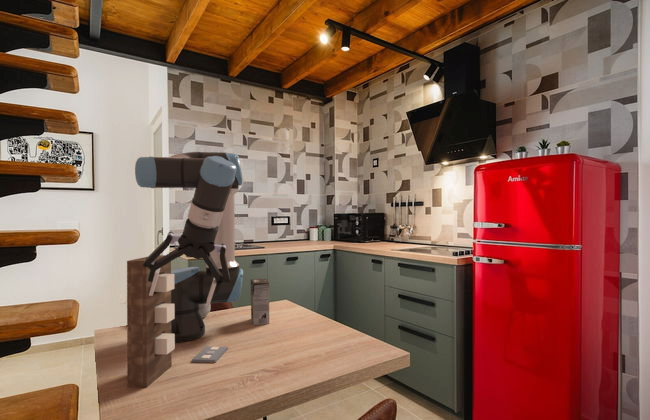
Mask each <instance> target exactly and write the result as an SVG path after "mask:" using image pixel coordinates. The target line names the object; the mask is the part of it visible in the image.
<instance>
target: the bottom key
mask: <svg viewBox="0 0 650 420" xmlns="http://www.w3.org/2000/svg"><path fill="white" fill-rule="evenodd" d="M175 343H176V342H175V334H168V333H161V334H159V335H158V336H156V337H155V354H168V353H170V352H171V353H172V351H174V350H175V349H176V348H175V347H176V344H175Z"/></svg>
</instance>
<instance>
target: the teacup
mask: <svg viewBox="0 0 650 420" xmlns="http://www.w3.org/2000/svg"><path fill="white" fill-rule="evenodd" d="M211 304H212V303H210V305H209V306H208V305H206V304H200V313H201V316H202V319H203V318H206V317H207V316H208V314H210V312H211V309H212V308H211V306H212V305H211Z"/></svg>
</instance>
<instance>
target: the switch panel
mask: <svg viewBox="0 0 650 420" xmlns="http://www.w3.org/2000/svg"><path fill="white" fill-rule="evenodd" d="M165 255H166V254H165ZM165 255H162V254H160V255H159V256H158V257H157V258H156V259H155V260H154V261H157V260H159V259H160V258H162V257H164V256H165ZM147 257H148V256H145V257H140V258H135V259H130V260H126V320H127V322H126V326H127V327H126V331H127V333H126V337H127V338H126V342H127V343H126V345H127V346H126V349H127V350H126V352H127V353H126V355H127V356H126V357H127V359H126V361H127V364H126V365H127V370H126V374H127V377H126V379H127V382H126V383H127V388H148V387H149V386H150V385H151V384H153V383H154V382H155V381H156V380H157V379H159V378H160V377H161V376H162V375H163V374H165V372H167V371H168V370H169V369H170V368H172V351H171V352H170V353H168V354H155V337H156V336H158V335H159V334H161V333H168V334H171V321H170V322H168V323H155V320H154V306H156V305H158V304H171V290H170V291H168V292H153V295H152V296H149V293H150V289H151V286H152V282H149V281H148V277H149V274H150V269H149V268H148V267H144V266H143V264H144V262H145V260H146V258H147ZM154 261H153V262H154ZM171 271H172V261H171V262H169V263H167V264H166V265H164V266H162V267H161V268H160V271H159V274H171Z"/></svg>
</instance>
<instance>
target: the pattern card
mask: <svg viewBox="0 0 650 420" xmlns="http://www.w3.org/2000/svg"><path fill="white" fill-rule="evenodd" d="M227 351H228V346H208V345H207V346H205V347H204V348H203V349H202V350H200V352H198V353H197V354H196V355H195V356H194V357H193V358H192V359H191V362H192V363H217V362H218V361H219V360H220V358H221V357H222V356H223V355H224V354H225V353H226V352H227Z"/></svg>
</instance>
